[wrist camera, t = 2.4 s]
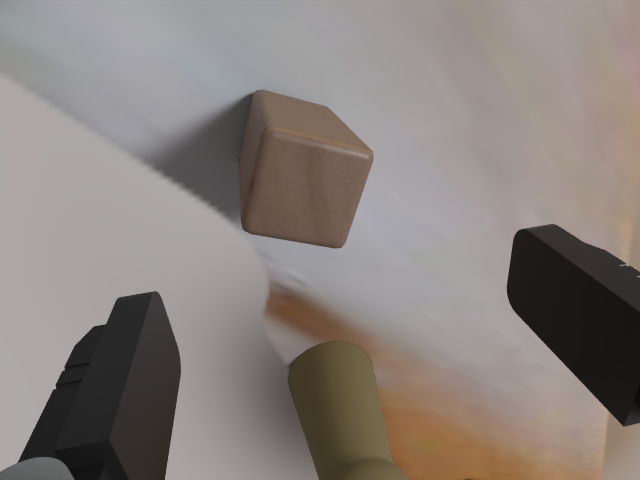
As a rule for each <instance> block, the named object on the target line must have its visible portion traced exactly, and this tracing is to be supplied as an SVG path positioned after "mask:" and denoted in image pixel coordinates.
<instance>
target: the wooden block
mask: <svg viewBox="0 0 640 480" xmlns="http://www.w3.org/2000/svg"><path fill="white" fill-rule="evenodd" d="M372 163H373V151H372V150H371V149H370V148H369V147H368V146H367V145H366V144H365V143H364V142H363V141H362V140H361V139H360V138H359V137H358V136H357V135H356V134H355V133H354V132H353V131H352V130H351V129H350V128H349V127H348V126H347V125H346V124H345V123H344V122H343V121H342V120H340V119H339V118H338V117H337V116H336V115H335V114H334V113H333V112H332V111H331V110H330V109H329V108H328V107H325V106H322V105H318V104H314V103H310V102H307V101H303V100H299V99H295V98H292V97H288V96H284V95H280V94H277V93H273V92H269V91H265V90H258V91H256V92H255V93H254V95H253V96H252V101H251V106H250V111H249V115H248V120H247V125H246V130H245V135H244V140H243V145H242V150H241V155H240V159H239V169H240V203H241V223H242V228H243V230H244V231H246V232H248V233H250V234H254V235H260V236H266V237H271V238H277V239H283V240H289V241H295V242H301V243H307V244H313V245H318V246H324V247H330V248H342V246H343V245H344V244H345V242H346V239H347V236H348V233H349V230H350V228H351V225H352V222H353V219H354V216H355V213H356V210H357V207H358V204H359V201H360V198H361V195H362V192H363V189H364V186H365V183H366V180H367V178H368V175H369V172H370V169H371V166H372Z"/></svg>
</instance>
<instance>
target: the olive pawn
mask: <svg viewBox="0 0 640 480" xmlns="http://www.w3.org/2000/svg"><path fill="white" fill-rule="evenodd" d="M288 383H289V388H290V391H291V394H292V398H293V401H294V404H295V407H296V410H297V413H298V416H299V419H300V422H301V425H302V428H303V431H304V434H305V437H306V440H307V443H308V447H309V450H310V453H311V456H312V459H313V462H314V465H315V468H316V471H317V474H318V477H319V480H408V478H407V477H406V475H405V474H404V472H403V471H402V469H401V468H400V467H398V466H397V465H395V464H394V463H393V461H392V456H391V451H390V447H389V442H388V437H387V432H386V428H385V423H384V418H383V413H382V409H381V404H380V399H379V394H378V390H377V385H376V380H375V375H374V371H373V366H372V361H371V359H370V357H369V356H368V354H367V352H366V351H364V350H363V349H362V348H361V347H359V346H357V345H355V344H352V343H349V342H339V341H332V342H327V343H322V344H319V345H317V346H314V347H312V348H310V349H308V350H306V351H305V352H304V353H303V354H302V355H300V356H299V357H298V358H297V359H296V360H295V362H294V363H293V365H292V366H291V368H290V371H289V375H288Z"/></svg>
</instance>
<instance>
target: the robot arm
mask: <svg viewBox="0 0 640 480" xmlns="http://www.w3.org/2000/svg"><path fill="white" fill-rule="evenodd" d="M507 295H508V299H509V302H510V304H511V306H512V308H513V310H514V311H515V312H516V314H517V315H518V316H519V317H520V318H521V319H522V320H523V321H524V322H525V323H526V324H527V325H528V326H529V327H530V328H531V329H532V330H533V332H534V333H535V334H536V335H537V336H538V337H539V338H540V339H541V340H542V341H543V342H544V343H545V344H546V345H547V346H548V347H549V348H550V349H551V351H552V352H553V353H554V354H555V355H556V356H557V357H558V358H559V359H560V360H561V361H562V362H563V363H564V364H565V365H566V366H567V367H568V368H569V369H570V371H571V372H572V373H573V374H574V375H575V376H576V377H577V378H578V379H579V380H580V381H581V382H582V383H583V384H584V385H585V386H586V387H587V388H588V390H589V391H590V392H591V393H592V394H593V395H594V396H595V397H596V398H597V399H598V400H599V401H600V402H601V403H602V404H603V405H604V406H605V407H606V409H607V410H608V411H609V412H610V413H611V414H612V415H613V416H614V417H615V418H616V419H617V420H618V421H619V422H620V423H621V424H622V425H623V426H628V425H633V424H637V423H640V272H639V271H637V270H636V269H634V268H633V267H631V266H626V263H625V262H623V261H621V260H620V259H618V258H617V257H615V256H614V255H612V254H610V253H609V252H607V251H606V250H603V249H600V248H597V247H595V246H592V245H589V244H587V243H584V242H582V241H581V240H579V239H578V238H576V237H575V236H573V235H572V234H570V233H568V232H567V231H565V230H564V229H562V228H561V227H559V226H557V225H555V224H549V225H543V226H538V227H532V228H526V229H521V230H519V231H518V232H517V233H516V234H515V236H514V240H513V247H512V254H511V261H510V267H509V274H508V281H507ZM180 375H181V363H180V356H179V351H178V346H177V343H176V340H175V337H174V334H173V332H172V328H171V325H170V322H169V319H168V317H167V313H166V310H165V307H164V304H163V301H162V298H161V296H160V294H159V293H158V292H156V291H154V292H148V293H142V294H137V295H131V296H125V297H120V298H118V299H117V300H116V302H115V305H114V307H113V309H112V312H111V314H110V317H109V319H108V321H107V324H105V325H100V326H94V327H93V328H92V329H91V330H90V331H89V332H88V333H87V334H86V335H85V336H84V337H83V338H82V339H81V340H80V341H79V342H78V343H77V344H76V345H75V346H74V349H73V350H72V352H71V354H70V357H69V359H68V361H67V363H66V365H65V371H62V373H61V375H60V377H59V379H58V381H57V383H56V389H55V390H53V392H52V394H51V395H50V398H49V400H48V402H47V404H46V406H45V408H44V410H43V412H42V414H41V416H40V418H39V420H38V422H37V424H36V426H35V428H34V430H33V432H32V434H31V436H30V439H29V441H28V443H27V445H26V447H25V449H24V451H23V453H22V455H21V457H20V459H19V461H18V463H16V464H14V465H12V466H10V467H8V468H6V469H5V470H3V471H1V472H0V480H165V474H166V467H167V461H168V454H169V448H170V441H171V434H172V427H173V422H174V415H175V409H176V402H177V395H178V389H179V382H180Z"/></svg>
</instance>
